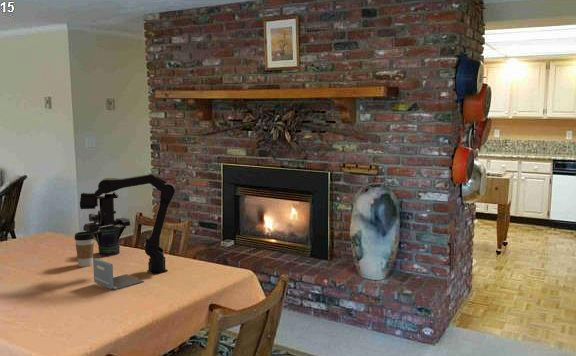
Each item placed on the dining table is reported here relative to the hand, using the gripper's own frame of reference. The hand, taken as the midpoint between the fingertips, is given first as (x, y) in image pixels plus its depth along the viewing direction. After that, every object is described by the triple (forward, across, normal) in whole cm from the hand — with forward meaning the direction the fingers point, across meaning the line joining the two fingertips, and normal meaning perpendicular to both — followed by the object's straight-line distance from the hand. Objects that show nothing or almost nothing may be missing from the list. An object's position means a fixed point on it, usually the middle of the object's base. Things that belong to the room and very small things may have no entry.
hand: (108, 244), depth 215 cm
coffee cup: (+13, 0, -20) cm, 24 cm away
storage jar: (+13, -17, -29) cm, 36 cm away
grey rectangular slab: (+12, +10, +13) cm, 20 cm away
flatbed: (+13, +2, +13) cm, 19 cm away
